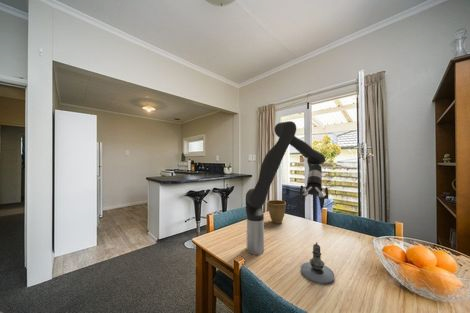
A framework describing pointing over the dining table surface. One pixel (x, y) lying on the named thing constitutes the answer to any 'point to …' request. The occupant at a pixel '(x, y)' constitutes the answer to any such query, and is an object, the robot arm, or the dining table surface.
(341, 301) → the dining table surface
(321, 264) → the dark ornate figurine
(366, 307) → the dining table surface
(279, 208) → the plant pot
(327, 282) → the dish
